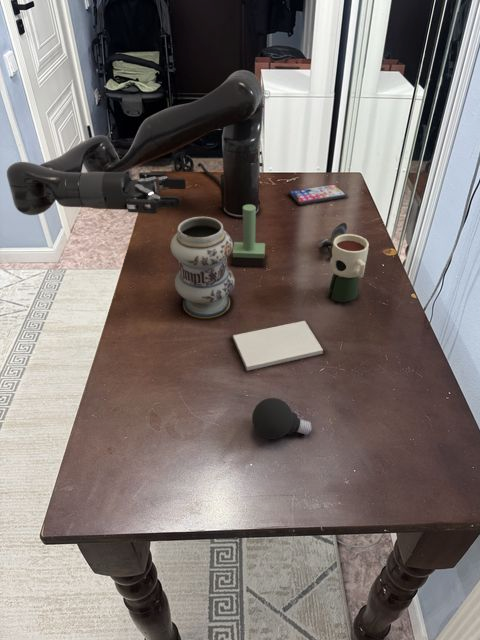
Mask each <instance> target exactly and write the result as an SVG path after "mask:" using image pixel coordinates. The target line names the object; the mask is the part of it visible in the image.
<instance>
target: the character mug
mask: <svg viewBox="0 0 480 640" xmlns="http://www.w3.org/2000/svg"><path fill="white" fill-rule="evenodd" d="M369 247H370V243H369V241H368V240H367V239H366V238H365V237H363V236H361V235H358V234H353V233H345V234H343V235H340V236H337V237H336V238H335V239H334V243H333V248H332V257H331V259H330V260H329V261H330V262H329V267H330V271H331V273H333V274H332V277H331V280H330V283H329V286H328V296H330V295H331V299H333V300H335V301H336V302H342V303H347V302H350V301H353V300H355V299H356V298H358V296H359V278H363V277H364V274H365V269H366V263H367V258H368V253H369ZM330 293H332V294H330Z"/></svg>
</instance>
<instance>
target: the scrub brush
mask: <svg viewBox="0 0 480 640" xmlns="http://www.w3.org/2000/svg"><path fill="white" fill-rule="evenodd" d="M256 219H257V214H256V207H255V206H254V205H250V204H248V205H244V206H243V218H242V241H233V248H232V263H233V264H232V265H233V267H255V268H256V267H257V268H258V267H259V268H264V266H265V255H266V254H265V252H266V243H265V242H256V225H257V223H256Z"/></svg>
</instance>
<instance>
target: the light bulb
mask: <svg viewBox="0 0 480 640" xmlns="http://www.w3.org/2000/svg"><path fill="white" fill-rule="evenodd" d="M251 419H252V420H251V422H252V425H253V428H254V430H255V432H256V433H258V434H259V435H260V436H261V437H262V438H265V439H268V440H277V439H281V438H283V437H284V436H285V435H293V434H294V433H295V432H296V433H300V434H302V435H303V434H304V435H309V434H310V433H311V431H312V423H311V421H310V420H305V419H302V418H298V414H297V413H296V412H294V411H292V409H291V407H290V406H289V404H287V402H286V401H284V400H282V399H280V398H276V397H269V398H265V399H263V400H261V401H259V403H258V404H256V406H255V408H254V409H253V412H252V417H251Z"/></svg>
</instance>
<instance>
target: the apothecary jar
mask: <svg viewBox="0 0 480 640" xmlns="http://www.w3.org/2000/svg"><path fill="white" fill-rule="evenodd" d="M176 230H177V231H176V233H175V234H174V236H173V237H172V239H171V242H170V251H171V254H172V255H173V257H174V258H175V259H176V260H177V261H178V266H179V271H178V273H176V276H175V279H174V288H175V290H176V292H177V293H178V295H180V296H181V297H182V298H183V301H182V307H183V310H184V311H185V312H186V314H188V315H189V316H191V317H193V318H197V319H213V318H216V317H220V316H222V315H223V314H225V313H226V312H227V311H228V310H229V309H230V306H231V298H230V296H229V295H230V294H231V293H232V291H233V290H234V288H235V284H236V279H235V276H234V273H233V271H232V270H231V269H230V268H229V267H228V257H230V255H231V254H232V252H233V247H234V241H233V239H232V237H231V235H229V233H228V232H227V231H226V230H224V225H223V224H222V222H221V221H220V220H218V219H217V218H214V217H210V216H194V217H189V218H187V219H185V220H183V221H181V222H180V223H179V224H178V226H177V229H176Z"/></svg>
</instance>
